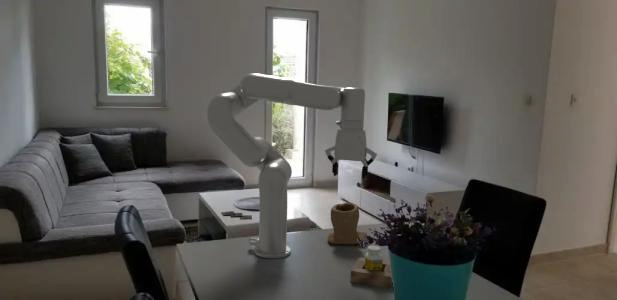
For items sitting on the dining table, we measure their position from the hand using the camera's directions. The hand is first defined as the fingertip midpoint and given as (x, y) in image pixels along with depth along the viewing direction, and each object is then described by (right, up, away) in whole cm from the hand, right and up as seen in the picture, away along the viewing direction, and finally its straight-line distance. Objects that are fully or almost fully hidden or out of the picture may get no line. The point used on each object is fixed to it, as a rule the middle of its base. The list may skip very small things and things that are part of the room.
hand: (349, 176), depth 166 cm
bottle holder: (+6, -31, -12) cm, 33 cm away
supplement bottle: (+6, -31, -12) cm, 33 cm away
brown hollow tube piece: (+1, -26, +19) cm, 32 cm away
